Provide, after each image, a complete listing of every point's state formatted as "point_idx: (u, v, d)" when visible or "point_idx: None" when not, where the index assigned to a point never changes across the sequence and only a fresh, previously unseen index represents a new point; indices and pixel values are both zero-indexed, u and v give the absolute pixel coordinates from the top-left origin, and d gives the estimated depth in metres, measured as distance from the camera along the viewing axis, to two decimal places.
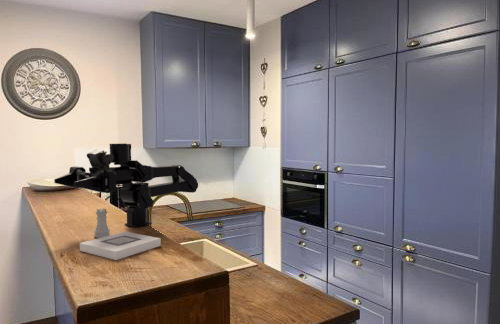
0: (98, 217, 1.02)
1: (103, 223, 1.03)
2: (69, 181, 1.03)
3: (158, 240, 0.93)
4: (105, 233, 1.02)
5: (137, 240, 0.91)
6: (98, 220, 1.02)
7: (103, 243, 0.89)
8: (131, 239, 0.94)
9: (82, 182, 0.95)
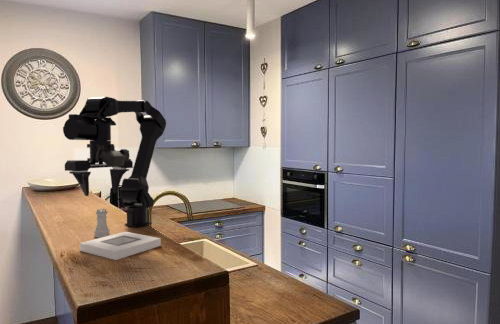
0: (98, 217, 1.02)
1: (103, 223, 1.03)
2: None
3: (158, 240, 0.93)
4: (105, 233, 1.02)
5: (137, 240, 0.91)
6: (98, 220, 1.02)
7: (103, 243, 0.89)
8: (131, 239, 0.94)
9: None
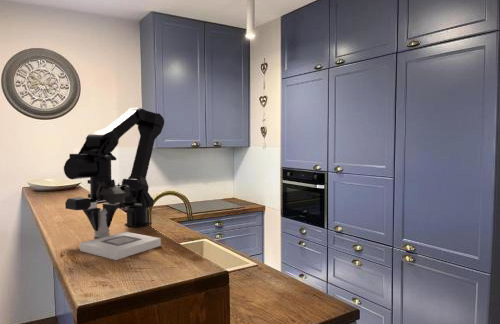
0: (98, 217, 1.02)
1: (103, 223, 1.03)
2: None
3: (158, 240, 0.93)
4: (105, 233, 1.02)
5: (137, 240, 0.91)
6: (98, 220, 1.02)
7: (103, 243, 0.89)
8: (131, 239, 0.94)
9: None
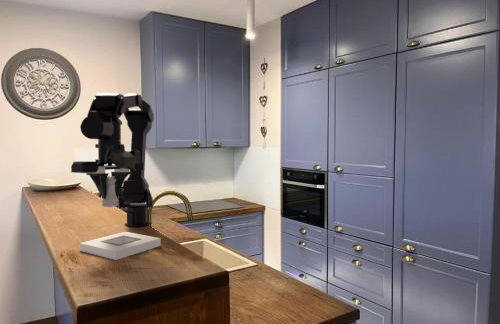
0: (106, 184, 0.95)
1: (111, 191, 0.95)
2: None
3: (158, 240, 0.93)
4: (114, 202, 0.95)
5: (137, 240, 0.91)
6: (106, 188, 0.95)
7: (103, 243, 0.89)
8: (131, 239, 0.94)
9: None
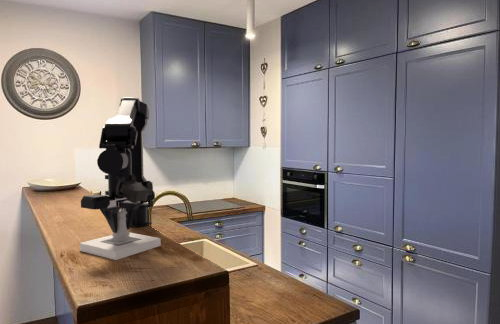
0: (117, 218, 0.90)
1: (123, 225, 0.91)
2: None
3: (158, 240, 0.93)
4: (125, 236, 0.90)
5: (137, 240, 0.91)
6: (117, 221, 0.90)
7: (103, 243, 0.89)
8: (131, 239, 0.94)
9: None
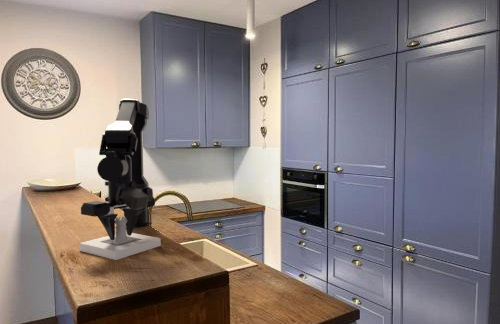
0: (117, 226, 0.90)
1: (123, 234, 0.91)
2: None
3: (158, 240, 0.93)
4: None
5: (137, 240, 0.91)
6: (117, 230, 0.90)
7: (103, 243, 0.89)
8: (131, 239, 0.94)
9: None
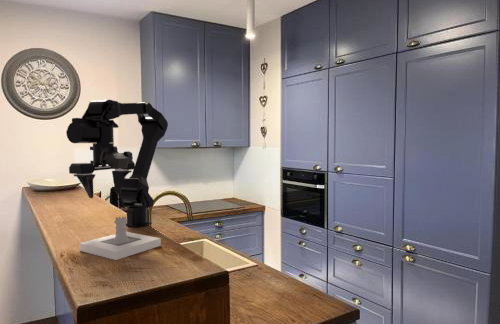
0: (117, 226, 0.90)
1: (123, 234, 0.91)
2: None
3: (158, 240, 0.93)
4: None
5: (137, 240, 0.91)
6: (117, 230, 0.90)
7: (103, 243, 0.89)
8: (131, 239, 0.94)
9: None
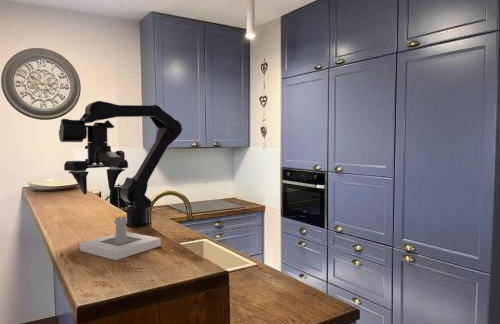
0: (117, 226, 0.90)
1: (123, 234, 0.91)
2: None
3: (158, 240, 0.93)
4: None
5: (137, 240, 0.91)
6: (117, 230, 0.90)
7: (103, 243, 0.89)
8: (131, 239, 0.94)
9: None
